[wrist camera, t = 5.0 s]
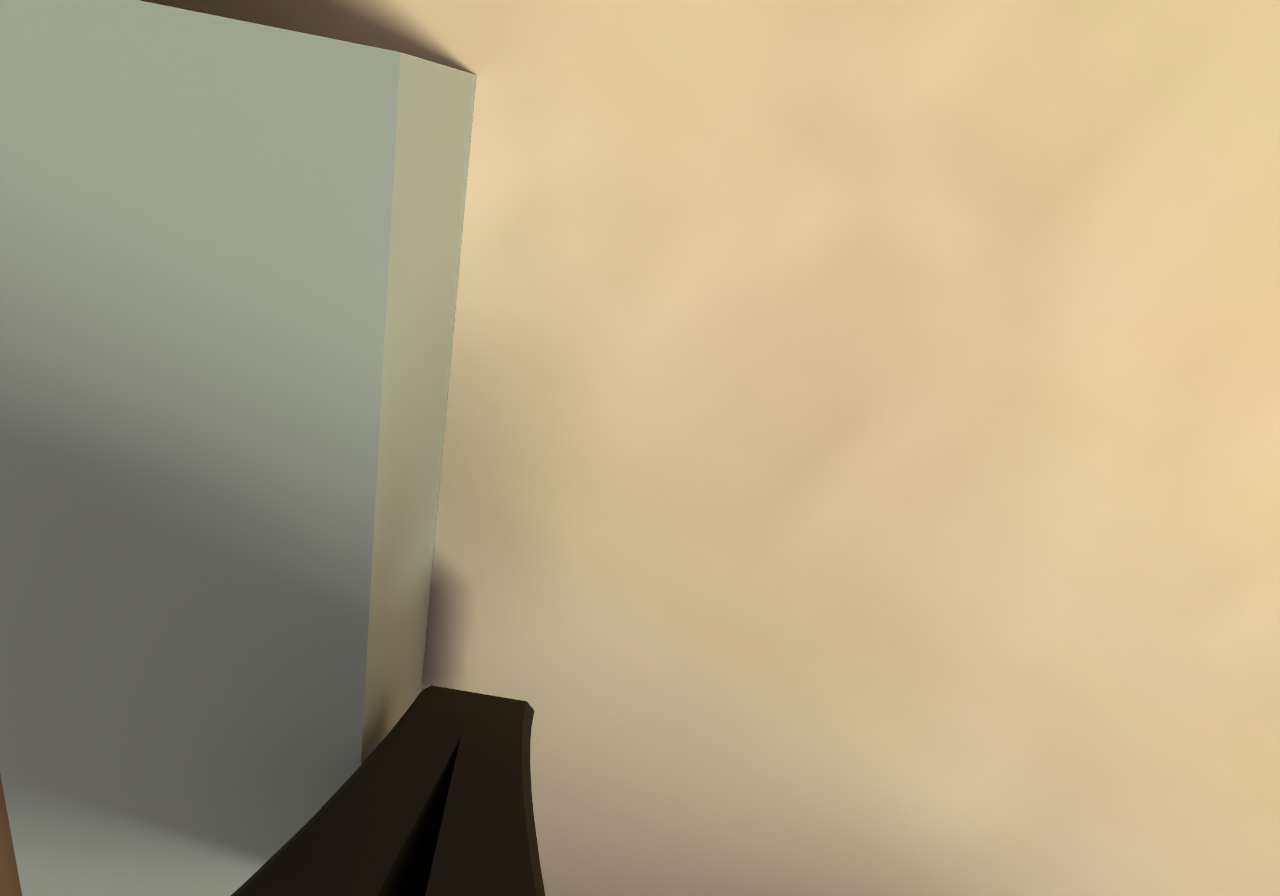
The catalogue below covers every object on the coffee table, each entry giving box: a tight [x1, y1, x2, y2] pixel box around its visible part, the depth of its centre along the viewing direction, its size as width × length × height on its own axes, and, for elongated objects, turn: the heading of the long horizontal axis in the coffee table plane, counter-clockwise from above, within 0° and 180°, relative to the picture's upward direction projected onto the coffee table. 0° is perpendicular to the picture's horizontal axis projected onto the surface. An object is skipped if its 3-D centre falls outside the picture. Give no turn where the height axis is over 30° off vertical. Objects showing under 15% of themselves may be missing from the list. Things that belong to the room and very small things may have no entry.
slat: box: [0, 0, 477, 896], centre depth 10 cm, size 4×16×3 cm, turn 170°
